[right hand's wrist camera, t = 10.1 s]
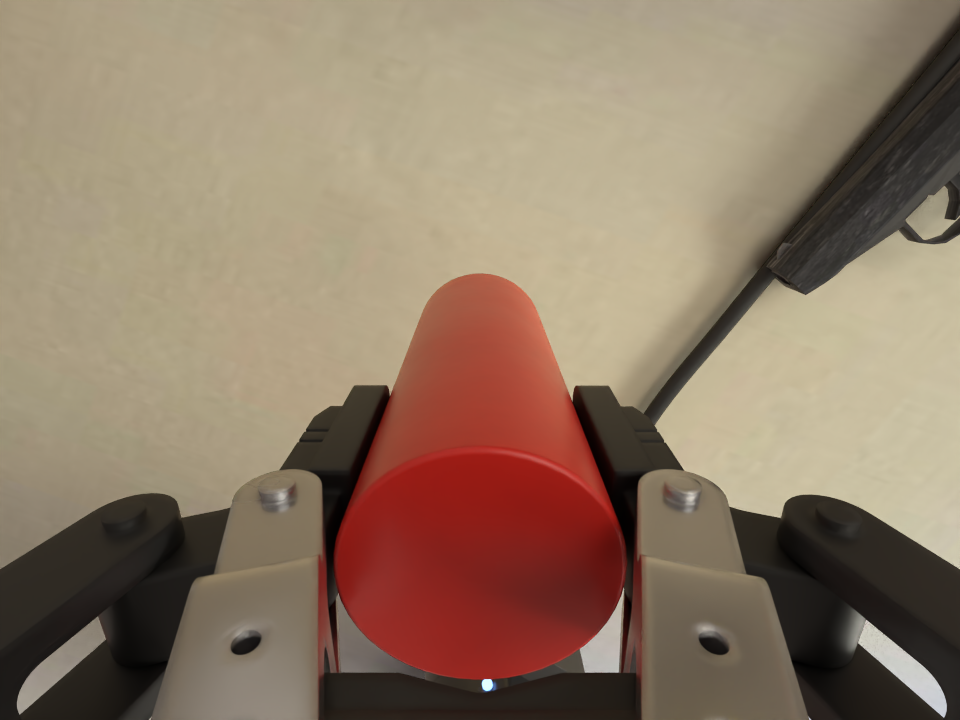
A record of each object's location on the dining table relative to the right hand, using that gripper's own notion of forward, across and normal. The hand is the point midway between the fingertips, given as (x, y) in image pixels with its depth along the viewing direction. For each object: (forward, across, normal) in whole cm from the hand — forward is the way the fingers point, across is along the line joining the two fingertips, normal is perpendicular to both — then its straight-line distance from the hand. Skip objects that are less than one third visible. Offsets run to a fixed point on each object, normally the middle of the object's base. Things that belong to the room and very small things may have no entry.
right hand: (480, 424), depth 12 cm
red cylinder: (+7, 0, 0) cm, 7 cm away
